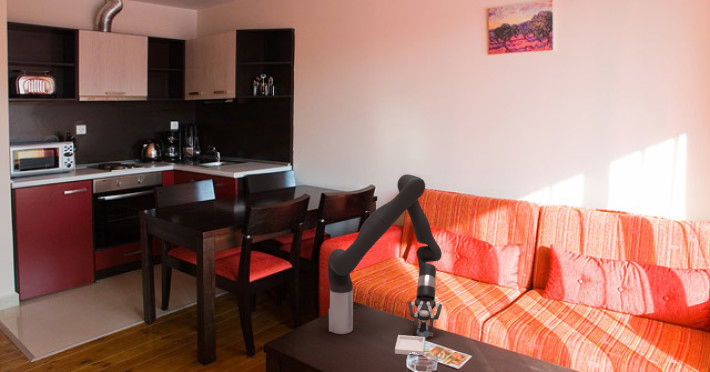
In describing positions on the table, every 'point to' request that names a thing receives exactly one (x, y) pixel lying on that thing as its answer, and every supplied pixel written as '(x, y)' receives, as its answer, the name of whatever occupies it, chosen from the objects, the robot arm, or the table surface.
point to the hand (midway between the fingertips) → (423, 327)
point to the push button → (423, 323)
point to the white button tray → (410, 345)
